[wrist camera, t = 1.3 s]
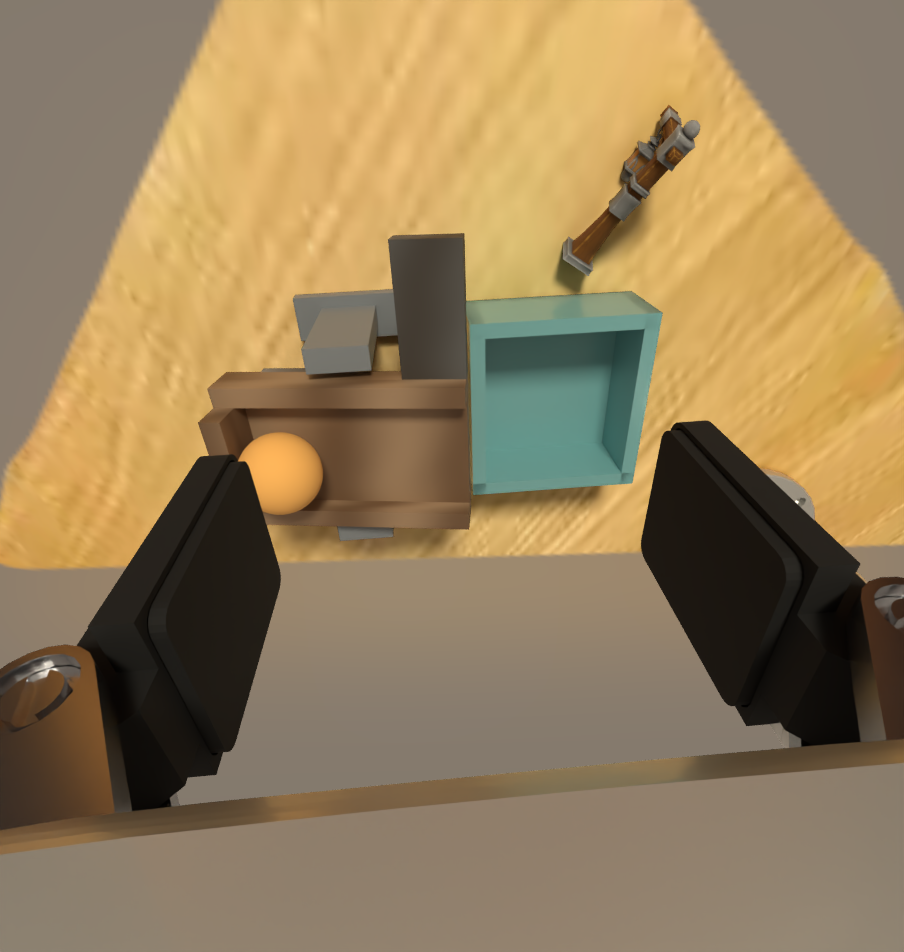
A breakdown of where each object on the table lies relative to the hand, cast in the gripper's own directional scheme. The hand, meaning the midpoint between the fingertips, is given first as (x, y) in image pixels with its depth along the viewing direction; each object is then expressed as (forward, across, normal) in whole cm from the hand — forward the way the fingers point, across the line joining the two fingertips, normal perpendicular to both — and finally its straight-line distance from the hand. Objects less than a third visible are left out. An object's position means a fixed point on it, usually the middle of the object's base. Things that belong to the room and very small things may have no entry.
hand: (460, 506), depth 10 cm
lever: (+19, +4, +4) cm, 20 cm away
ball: (+14, +8, +7) cm, 18 cm away
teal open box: (+23, -7, +7) cm, 25 cm away
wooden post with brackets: (+23, -10, -3) cm, 25 cm away
